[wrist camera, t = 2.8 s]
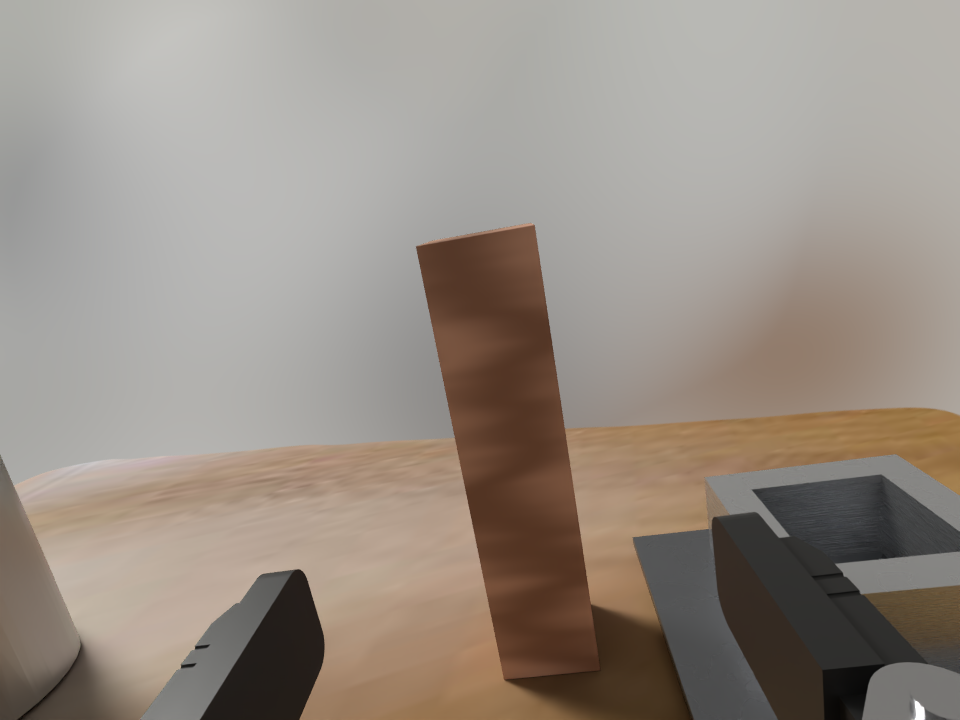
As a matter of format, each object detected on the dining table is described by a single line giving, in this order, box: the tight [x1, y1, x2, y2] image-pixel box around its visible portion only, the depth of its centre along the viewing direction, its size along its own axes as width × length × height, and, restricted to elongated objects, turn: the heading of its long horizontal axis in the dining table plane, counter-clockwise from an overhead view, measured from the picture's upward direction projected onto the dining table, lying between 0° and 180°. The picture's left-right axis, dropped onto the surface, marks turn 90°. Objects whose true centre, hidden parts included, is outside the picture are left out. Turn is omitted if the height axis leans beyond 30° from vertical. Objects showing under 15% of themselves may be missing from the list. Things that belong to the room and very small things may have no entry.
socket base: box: [633, 454, 960, 720], centre depth 22 cm, size 16×12×5 cm
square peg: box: [416, 223, 600, 680], centre depth 22 cm, size 4×4×18 cm
